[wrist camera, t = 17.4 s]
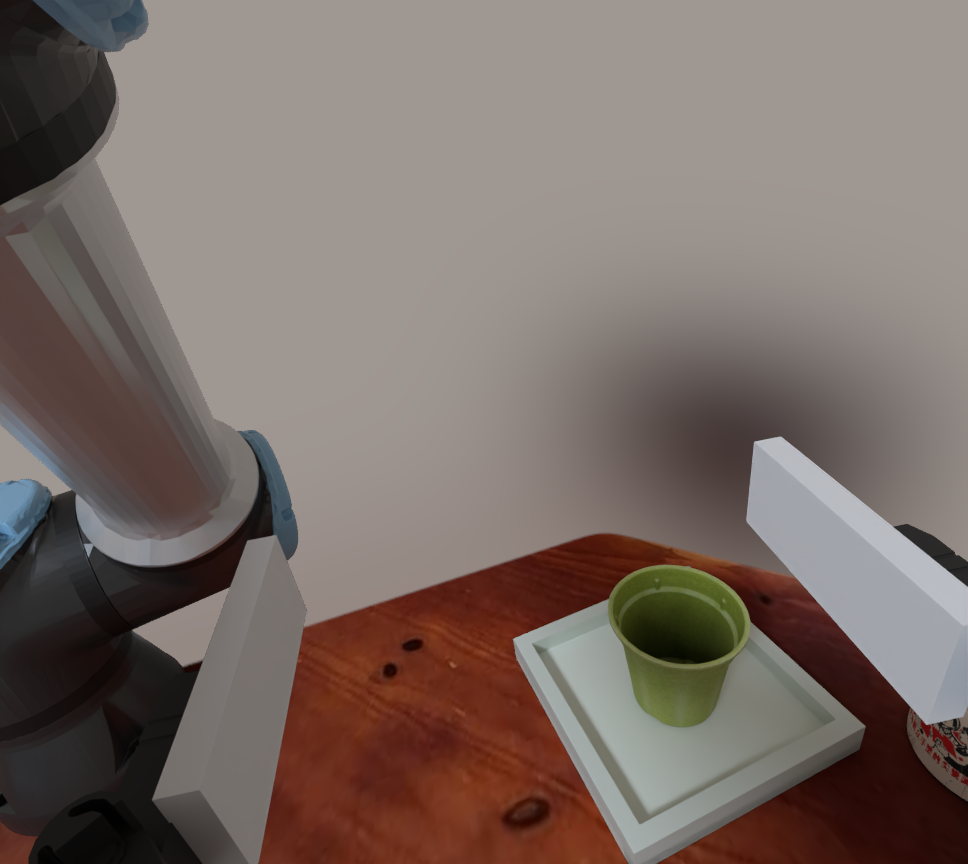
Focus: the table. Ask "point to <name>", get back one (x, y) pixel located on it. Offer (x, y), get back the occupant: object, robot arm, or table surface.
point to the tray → (680, 734)
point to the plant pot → (678, 639)
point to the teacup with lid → (942, 749)
